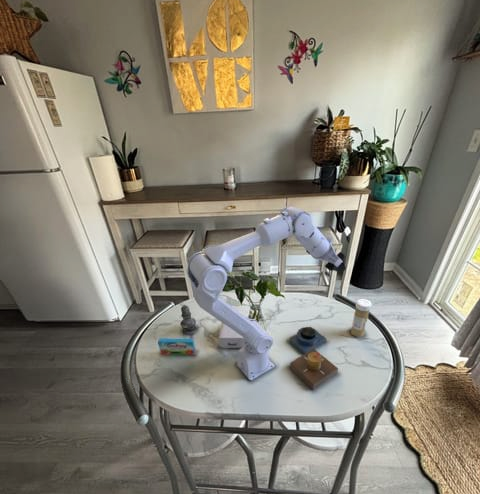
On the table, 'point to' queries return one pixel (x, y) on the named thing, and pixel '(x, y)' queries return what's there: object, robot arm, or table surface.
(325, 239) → the robot arm
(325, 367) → the brown square block
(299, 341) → the button box
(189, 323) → the grey stone statuette
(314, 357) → the dial
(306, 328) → the button
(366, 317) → the sprinkles bottle
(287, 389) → the table surface
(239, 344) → the charger
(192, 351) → the blue printed cardboard box
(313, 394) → the table surface
